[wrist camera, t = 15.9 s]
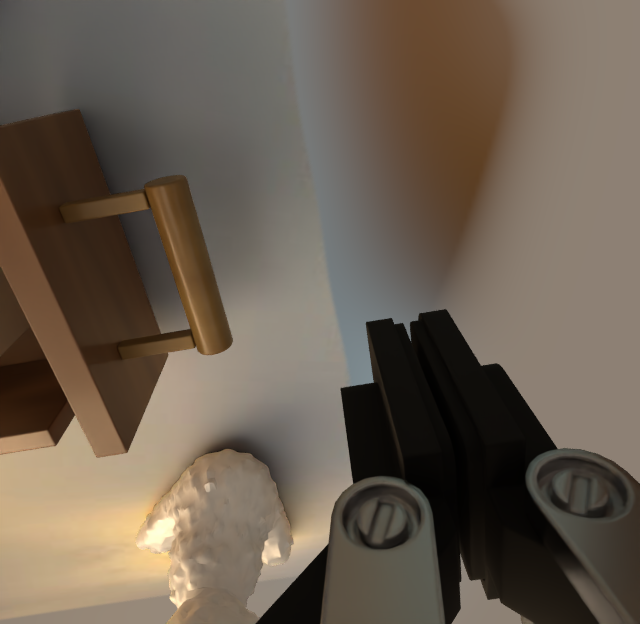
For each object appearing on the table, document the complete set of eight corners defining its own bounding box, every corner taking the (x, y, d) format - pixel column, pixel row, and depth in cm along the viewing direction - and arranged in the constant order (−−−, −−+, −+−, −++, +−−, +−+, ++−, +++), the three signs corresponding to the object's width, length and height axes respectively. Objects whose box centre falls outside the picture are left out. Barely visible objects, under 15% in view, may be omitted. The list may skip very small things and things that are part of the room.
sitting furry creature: (140, 528, 31) (60, 775, 20) (149, 422, 27) (56, 658, 16) (288, 543, 32) (286, 782, 22) (316, 444, 28) (331, 675, 18)
